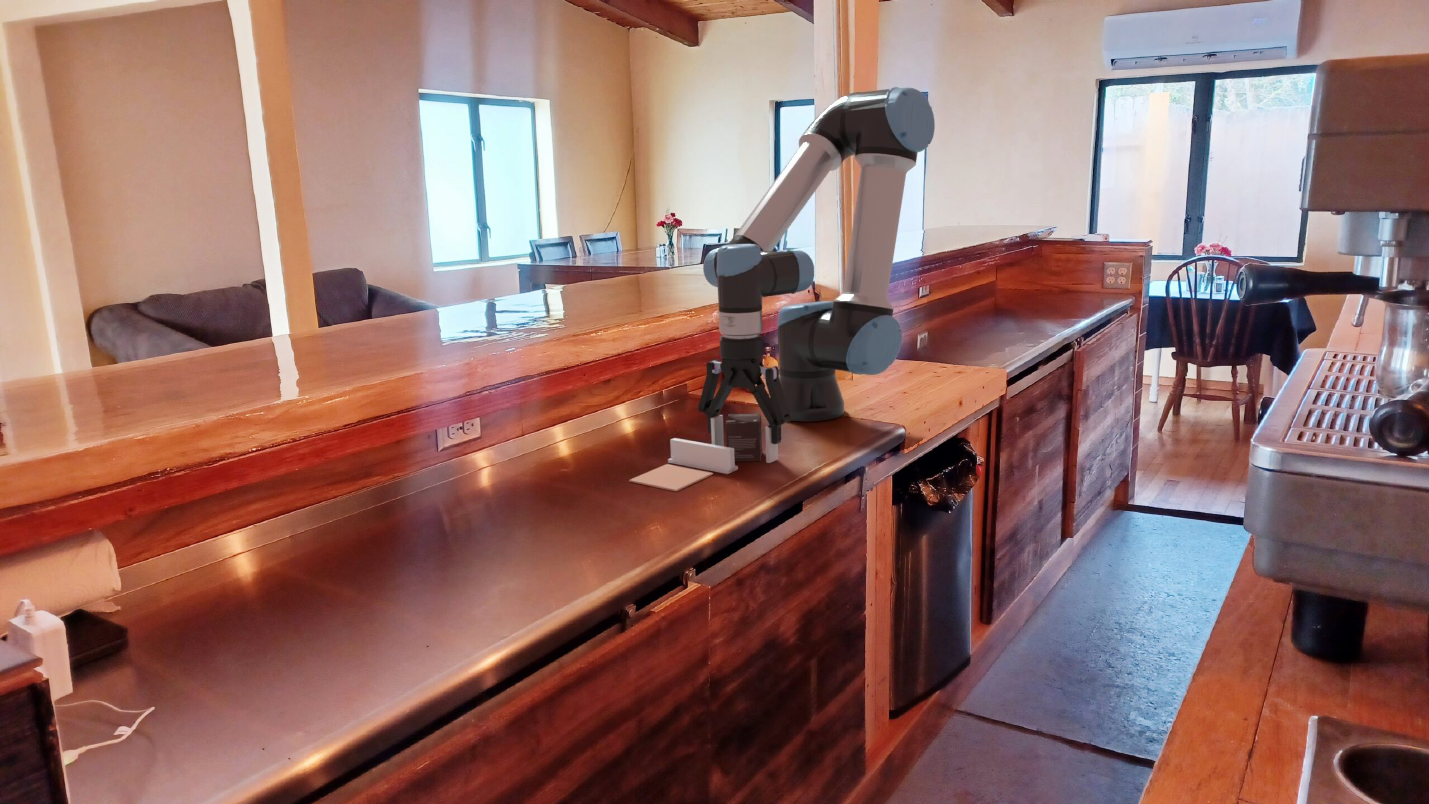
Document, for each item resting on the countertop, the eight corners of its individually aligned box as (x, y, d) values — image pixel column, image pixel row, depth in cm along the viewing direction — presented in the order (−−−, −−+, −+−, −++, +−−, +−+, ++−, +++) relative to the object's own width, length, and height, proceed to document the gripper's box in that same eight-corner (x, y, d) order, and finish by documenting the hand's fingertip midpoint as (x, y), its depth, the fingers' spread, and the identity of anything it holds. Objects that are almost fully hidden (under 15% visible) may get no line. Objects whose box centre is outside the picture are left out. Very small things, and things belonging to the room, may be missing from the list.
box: (762, 452, 172) (761, 413, 170) (761, 462, 166) (760, 422, 164) (729, 452, 172) (728, 413, 170) (726, 462, 166) (725, 422, 165)
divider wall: (678, 458, 170) (677, 436, 169) (737, 469, 162) (737, 446, 161) (668, 462, 167) (666, 440, 166) (727, 474, 160) (726, 451, 159)
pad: (667, 465, 166) (667, 464, 165) (713, 474, 160) (712, 472, 160) (629, 481, 158) (629, 479, 158) (676, 491, 152) (676, 489, 152)
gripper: (674, 333, 167) (680, 451, 173) (787, 343, 154) (789, 471, 159) (700, 327, 173) (704, 441, 179) (810, 336, 160) (812, 460, 165)
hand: (744, 456), depth 169 cm, fingers open, 11 cm apart
